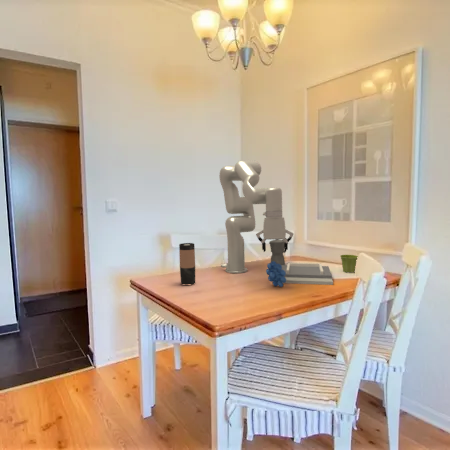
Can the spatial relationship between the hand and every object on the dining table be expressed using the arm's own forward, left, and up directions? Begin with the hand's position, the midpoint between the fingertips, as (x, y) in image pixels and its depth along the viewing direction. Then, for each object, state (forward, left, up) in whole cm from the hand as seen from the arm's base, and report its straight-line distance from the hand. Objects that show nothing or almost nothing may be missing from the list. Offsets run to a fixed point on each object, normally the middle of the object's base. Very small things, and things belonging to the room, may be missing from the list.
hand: (275, 251), depth 159 cm
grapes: (0, 0, -17) cm, 17 cm away
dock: (+14, +22, -17) cm, 31 cm away
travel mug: (-43, 0, -17) cm, 47 cm away
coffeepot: (-1, +48, -17) cm, 51 cm away
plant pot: (+38, +36, -17) cm, 55 cm away
